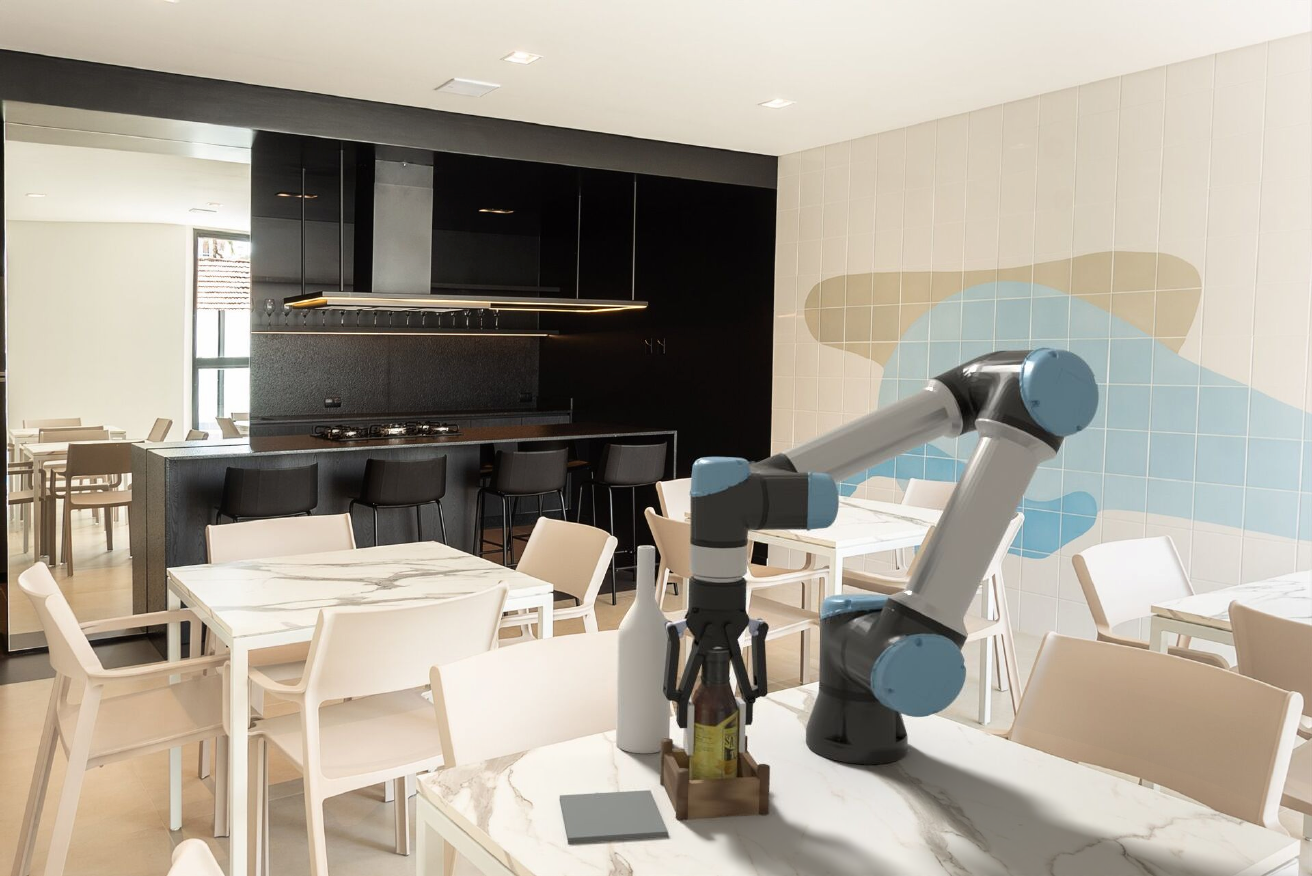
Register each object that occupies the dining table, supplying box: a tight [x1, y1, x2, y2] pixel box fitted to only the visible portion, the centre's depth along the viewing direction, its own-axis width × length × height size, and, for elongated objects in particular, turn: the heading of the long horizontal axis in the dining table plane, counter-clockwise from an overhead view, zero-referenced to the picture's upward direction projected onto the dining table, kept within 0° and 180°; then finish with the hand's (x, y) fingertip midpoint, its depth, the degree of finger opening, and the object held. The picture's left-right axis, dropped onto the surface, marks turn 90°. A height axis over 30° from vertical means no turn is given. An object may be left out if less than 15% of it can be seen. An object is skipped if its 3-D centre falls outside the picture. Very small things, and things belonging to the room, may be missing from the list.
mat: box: [559, 789, 669, 844], centre depth 122 cm, size 12×12×1 cm
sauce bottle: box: [689, 647, 738, 780], centre depth 128 cm, size 7×6×20 cm
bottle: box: [615, 545, 671, 754], centre depth 146 cm, size 8×8×30 cm
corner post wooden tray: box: [659, 734, 771, 821], centre depth 129 cm, size 12×12×6 cm
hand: (713, 749), depth 128 cm, fingers closed on sauce bottle, 6 cm apart
